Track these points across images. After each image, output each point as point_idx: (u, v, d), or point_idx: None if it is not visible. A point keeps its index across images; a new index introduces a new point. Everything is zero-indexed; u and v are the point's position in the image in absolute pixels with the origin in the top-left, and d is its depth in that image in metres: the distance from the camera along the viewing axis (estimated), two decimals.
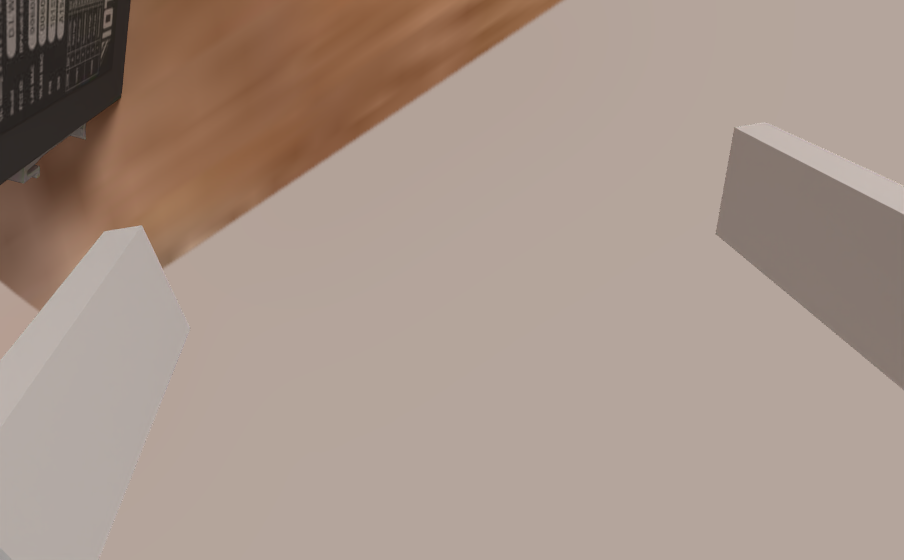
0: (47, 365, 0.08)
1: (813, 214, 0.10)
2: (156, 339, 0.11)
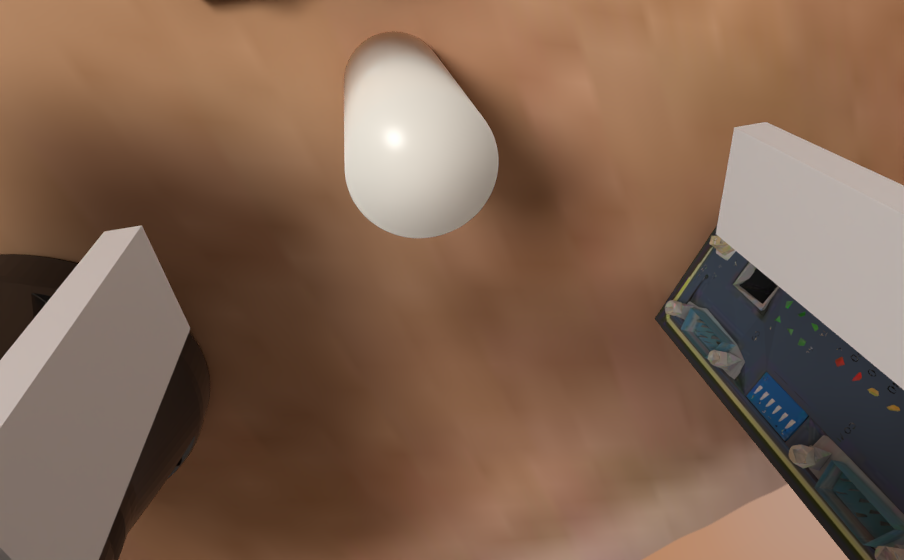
0: (47, 365, 0.08)
1: (813, 214, 0.10)
2: (156, 339, 0.11)
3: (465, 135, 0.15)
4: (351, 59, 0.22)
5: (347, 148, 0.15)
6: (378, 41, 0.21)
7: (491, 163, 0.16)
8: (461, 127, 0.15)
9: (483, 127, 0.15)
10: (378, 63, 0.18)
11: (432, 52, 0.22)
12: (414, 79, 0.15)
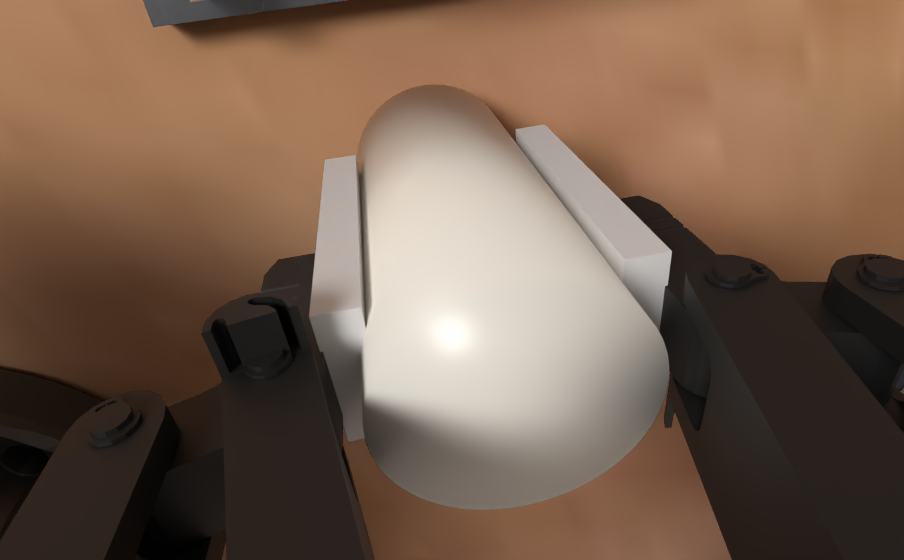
0: (358, 239, 0.10)
1: None
2: None
3: (612, 352, 0.07)
4: (370, 128, 0.15)
5: (369, 386, 0.07)
6: (413, 105, 0.14)
7: (652, 393, 0.08)
8: (605, 339, 0.07)
9: (649, 338, 0.07)
10: (420, 163, 0.10)
11: (498, 122, 0.14)
12: (506, 233, 0.08)
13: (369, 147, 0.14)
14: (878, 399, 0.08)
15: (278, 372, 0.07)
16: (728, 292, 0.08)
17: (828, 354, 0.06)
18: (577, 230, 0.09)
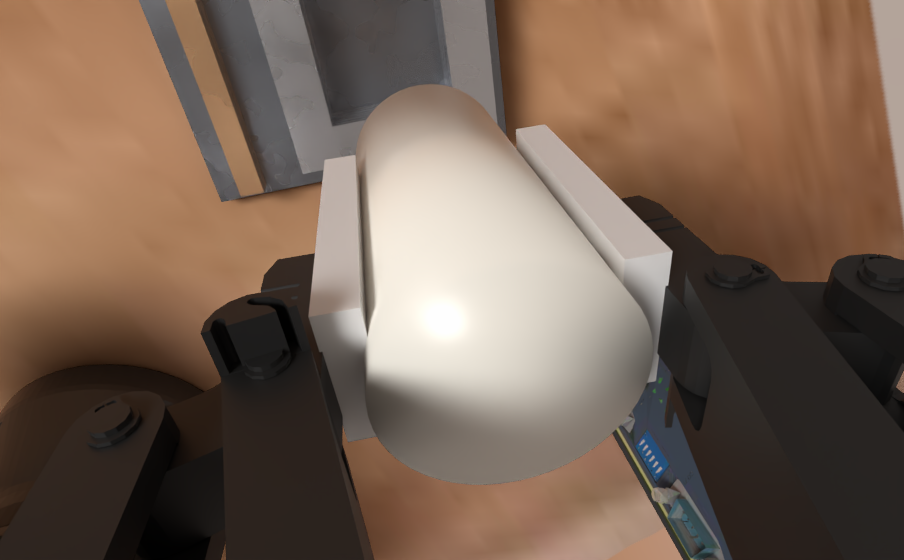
0: (357, 239, 0.10)
1: None
2: None
3: (599, 331, 0.08)
4: (368, 126, 0.15)
5: (372, 362, 0.08)
6: (410, 104, 0.14)
7: (637, 371, 0.09)
8: (592, 318, 0.08)
9: (634, 317, 0.08)
10: (418, 157, 0.11)
11: (491, 120, 0.14)
12: (499, 220, 0.08)
13: (368, 144, 0.14)
14: (879, 399, 0.08)
15: (277, 372, 0.07)
16: (728, 292, 0.08)
17: (828, 354, 0.06)
18: (567, 219, 0.09)
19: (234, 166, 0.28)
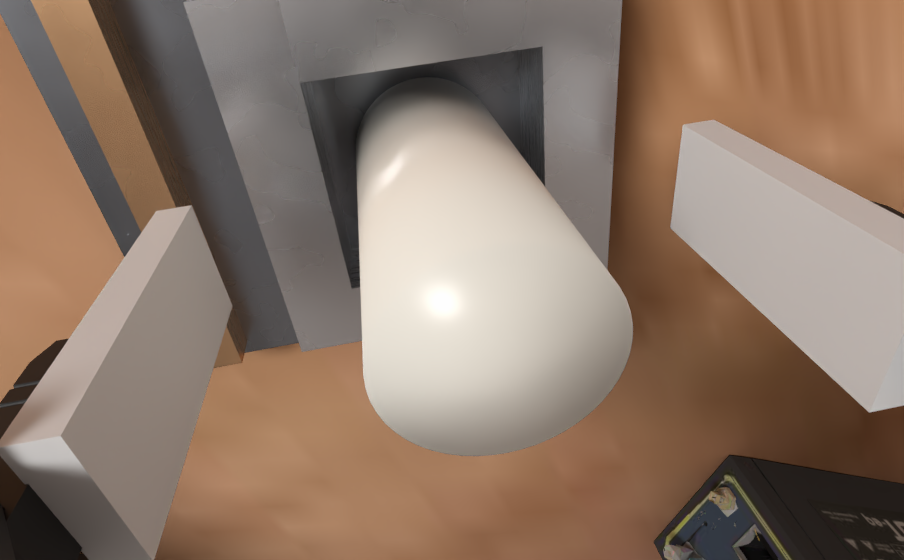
0: (125, 326, 0.08)
1: (749, 207, 0.11)
2: (206, 313, 0.12)
3: (582, 309, 0.09)
4: (367, 118, 0.16)
5: (369, 338, 0.08)
6: (408, 96, 0.15)
7: (619, 348, 0.09)
8: (575, 297, 0.08)
9: (614, 297, 0.08)
10: (414, 148, 0.11)
11: (487, 112, 0.15)
12: (489, 206, 0.09)
13: (367, 135, 0.14)
14: None
15: None
16: None
17: None
18: (554, 206, 0.10)
19: None
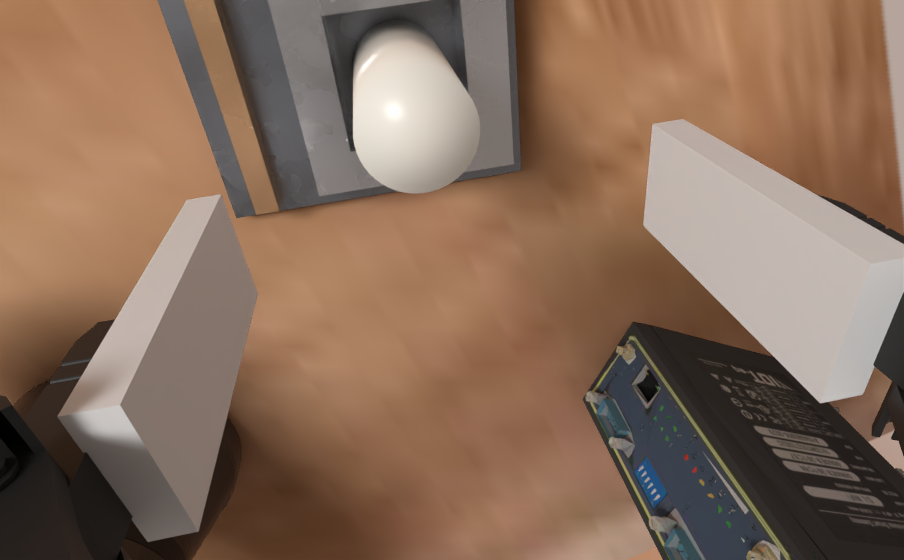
0: (169, 306, 0.09)
1: (712, 204, 0.11)
2: (236, 298, 0.12)
3: (452, 106, 0.19)
4: (360, 44, 0.26)
5: (355, 116, 0.18)
6: (383, 28, 0.25)
7: (474, 130, 0.19)
8: (448, 98, 0.18)
9: (467, 99, 0.19)
10: (382, 47, 0.22)
11: (430, 38, 0.25)
12: (410, 59, 0.19)
13: (359, 51, 0.25)
14: None
15: (0, 488, 0.06)
16: None
17: None
18: (447, 67, 0.20)
19: (251, 185, 0.28)
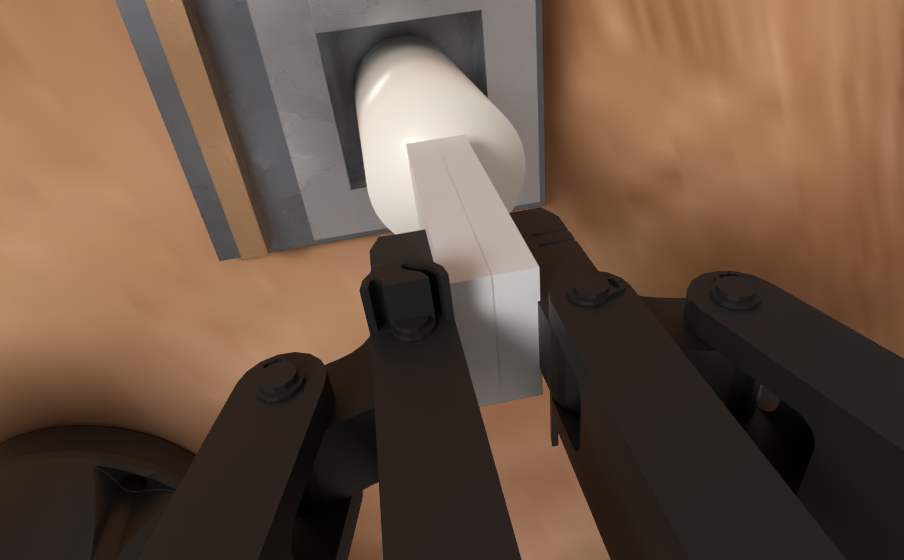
0: (465, 215, 0.10)
1: None
2: None
3: (491, 140, 0.15)
4: (361, 65, 0.22)
5: (369, 158, 0.14)
6: (389, 46, 0.21)
7: (518, 168, 0.15)
8: (486, 131, 0.15)
9: (510, 131, 0.15)
10: (393, 68, 0.18)
11: (445, 55, 0.21)
12: (436, 83, 0.15)
13: (362, 74, 0.21)
14: (745, 413, 0.08)
15: (423, 336, 0.07)
16: (588, 311, 0.08)
17: (682, 366, 0.07)
18: (479, 90, 0.16)
19: (235, 227, 0.24)
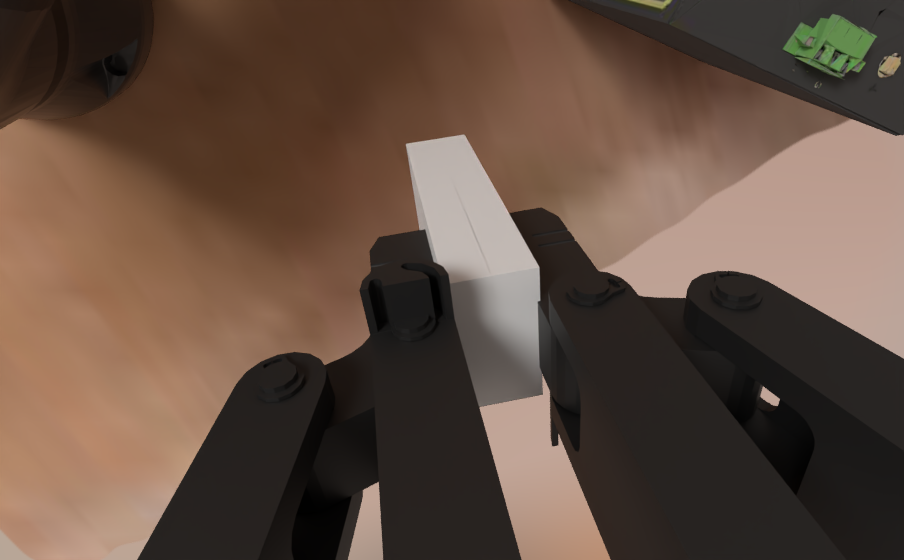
0: (465, 215, 0.10)
1: None
2: None
3: None
4: None
5: None
6: None
7: None
8: None
9: None
10: None
11: None
12: None
13: None
14: (745, 413, 0.08)
15: (423, 336, 0.07)
16: (588, 311, 0.08)
17: (682, 366, 0.07)
18: None
19: None
